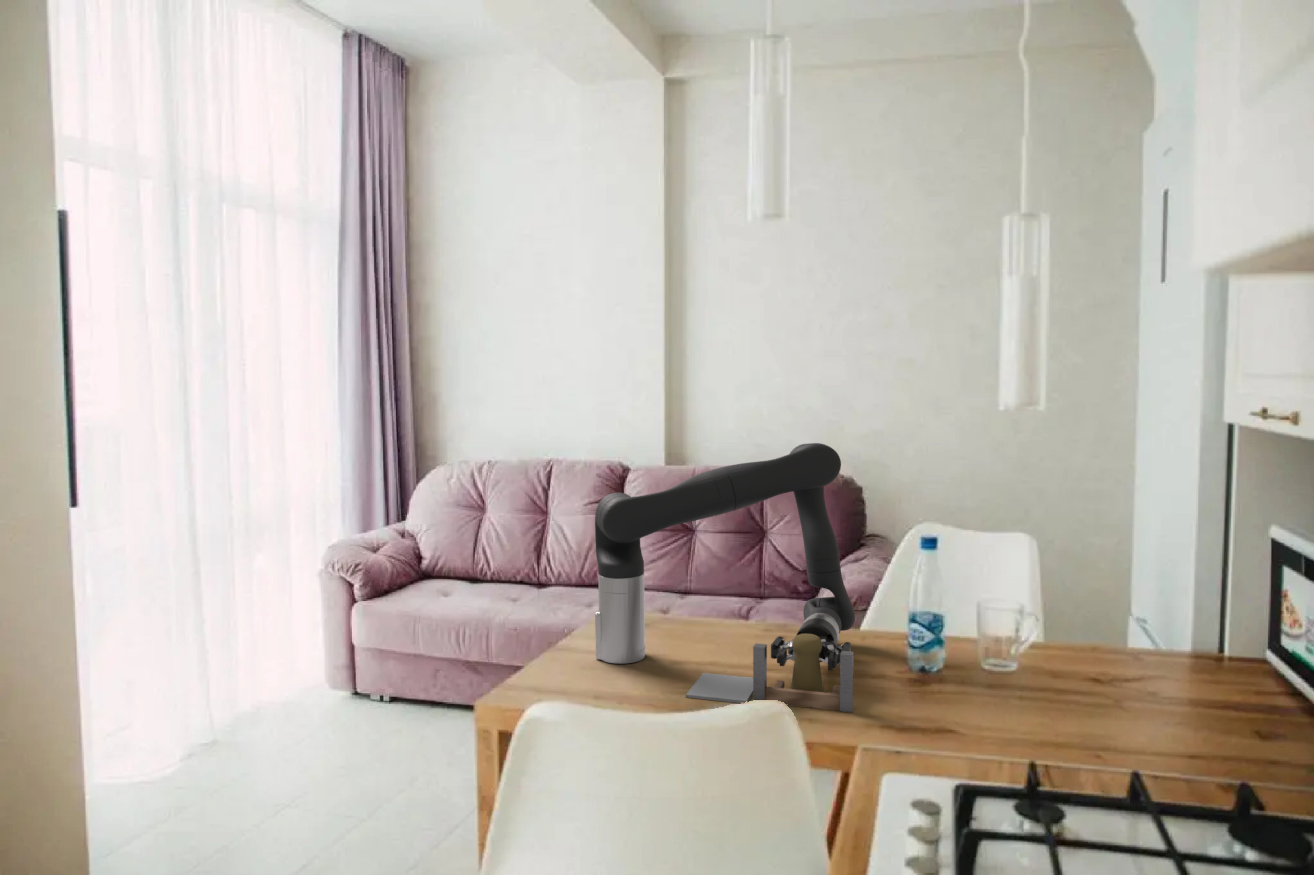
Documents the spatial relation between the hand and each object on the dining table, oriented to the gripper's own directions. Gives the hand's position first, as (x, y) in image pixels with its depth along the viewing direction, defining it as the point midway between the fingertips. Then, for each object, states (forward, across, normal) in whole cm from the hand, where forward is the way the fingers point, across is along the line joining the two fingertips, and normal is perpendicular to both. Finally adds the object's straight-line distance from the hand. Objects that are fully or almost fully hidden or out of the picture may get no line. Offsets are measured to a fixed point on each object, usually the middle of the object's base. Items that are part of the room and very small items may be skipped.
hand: (805, 663), depth 164 cm
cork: (-2, 0, +7) cm, 7 cm away
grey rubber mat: (-1, -15, +6) cm, 16 cm away
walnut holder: (0, 0, +7) cm, 7 cm away
